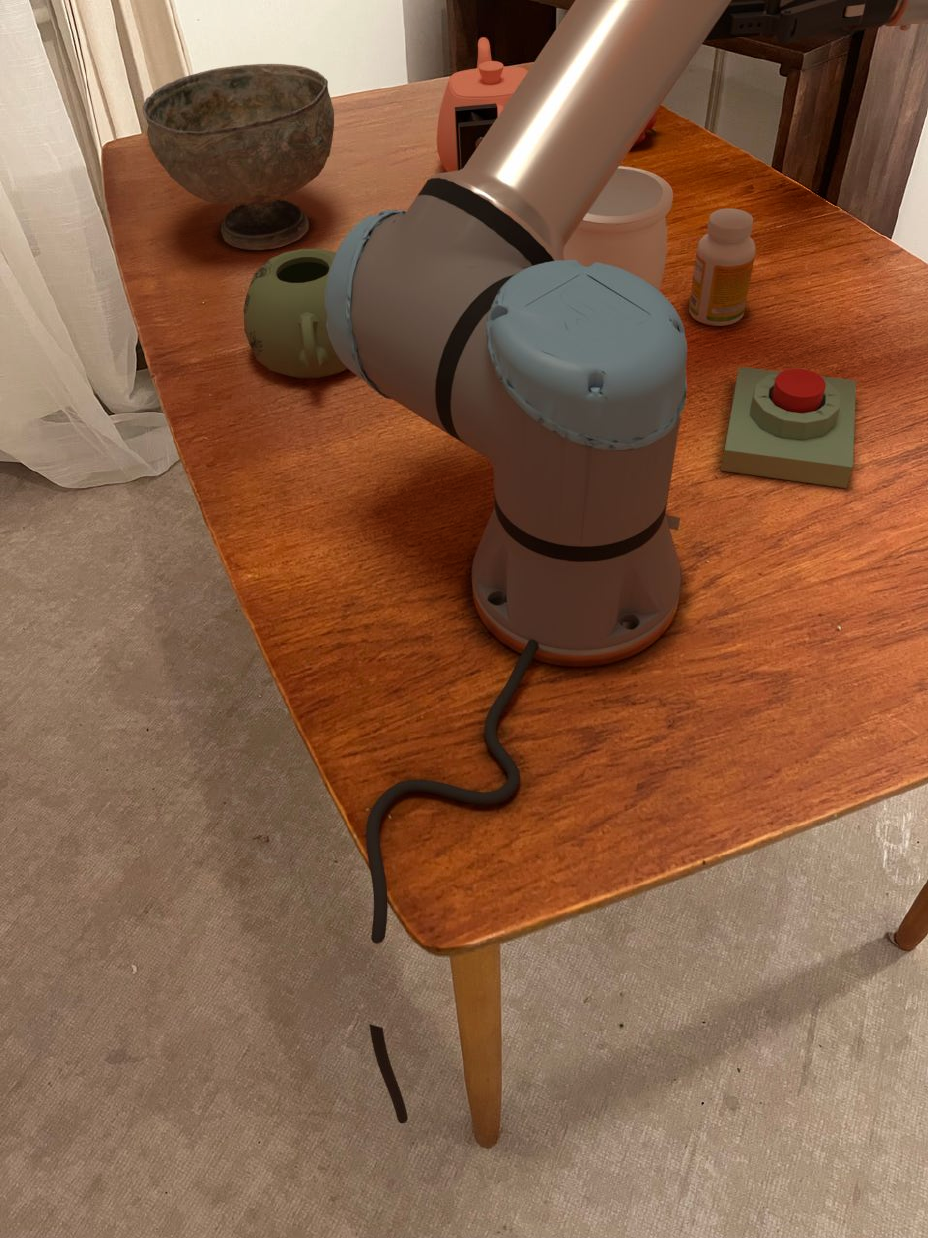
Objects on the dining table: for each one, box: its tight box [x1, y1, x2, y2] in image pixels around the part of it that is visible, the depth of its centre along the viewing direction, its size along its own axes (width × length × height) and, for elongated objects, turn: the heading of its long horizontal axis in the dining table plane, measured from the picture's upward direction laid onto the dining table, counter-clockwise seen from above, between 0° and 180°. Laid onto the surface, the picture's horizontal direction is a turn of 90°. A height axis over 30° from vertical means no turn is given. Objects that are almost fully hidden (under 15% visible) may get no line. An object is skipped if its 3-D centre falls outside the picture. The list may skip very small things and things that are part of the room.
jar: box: [563, 165, 674, 291], centre depth 88 cm, size 11×10×15 cm
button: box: [772, 367, 826, 414], centre depth 81 cm, size 4×4×2 cm
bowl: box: [142, 63, 335, 251], centre depth 107 cm, size 20×19×15 cm
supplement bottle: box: [688, 207, 757, 327], centre depth 93 cm, size 5×5×10 cm
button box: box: [720, 366, 857, 489], centre depth 82 cm, size 12×10×4 cm
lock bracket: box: [455, 103, 498, 171], centre depth 105 cm, size 12×9×13 cm
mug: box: [243, 248, 349, 379], centre depth 92 cm, size 16×13×9 cm
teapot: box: [436, 36, 529, 172], centre depth 116 cm, size 13×20×12 cm, turn 5°
